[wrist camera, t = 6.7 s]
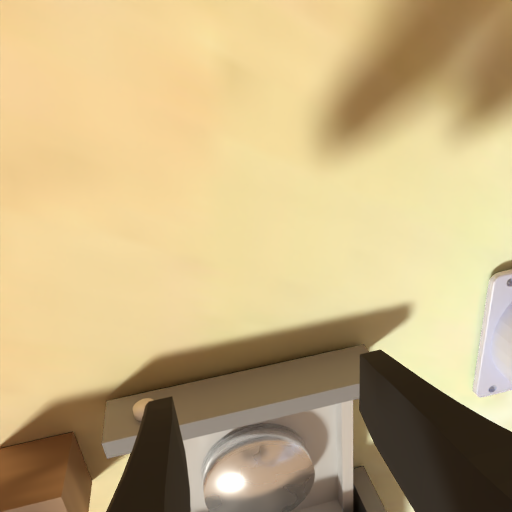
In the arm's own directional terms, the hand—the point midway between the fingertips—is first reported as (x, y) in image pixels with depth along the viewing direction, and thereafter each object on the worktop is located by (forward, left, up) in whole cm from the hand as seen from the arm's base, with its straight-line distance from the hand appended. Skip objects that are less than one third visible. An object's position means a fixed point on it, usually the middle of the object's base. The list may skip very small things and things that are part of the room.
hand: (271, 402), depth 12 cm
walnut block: (+10, +9, -8) cm, 16 cm away
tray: (0, +11, -8) cm, 14 cm away
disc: (0, +11, -7) cm, 13 cm away
